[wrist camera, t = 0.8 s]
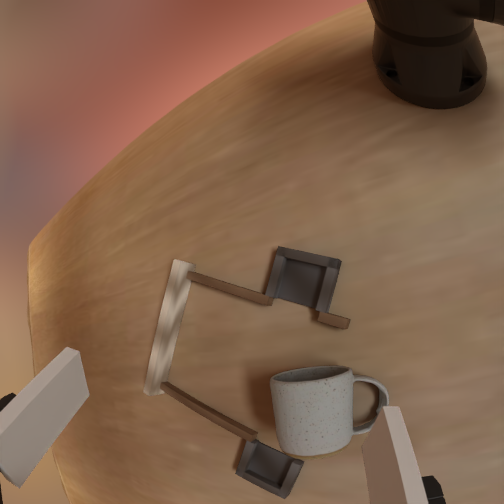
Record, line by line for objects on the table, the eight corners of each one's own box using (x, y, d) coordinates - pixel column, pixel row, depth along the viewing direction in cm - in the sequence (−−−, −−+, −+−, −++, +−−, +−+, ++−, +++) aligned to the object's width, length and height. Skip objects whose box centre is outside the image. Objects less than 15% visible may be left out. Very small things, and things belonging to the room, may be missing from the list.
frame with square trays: (198, 230, 43) (183, 224, 40) (369, 267, 30) (363, 262, 28) (153, 414, 41) (138, 418, 38) (289, 494, 29) (277, 505, 26)
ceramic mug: (294, 437, 30) (263, 462, 24) (288, 368, 33) (255, 379, 26) (391, 433, 26) (381, 464, 19) (387, 357, 28) (378, 370, 21)
